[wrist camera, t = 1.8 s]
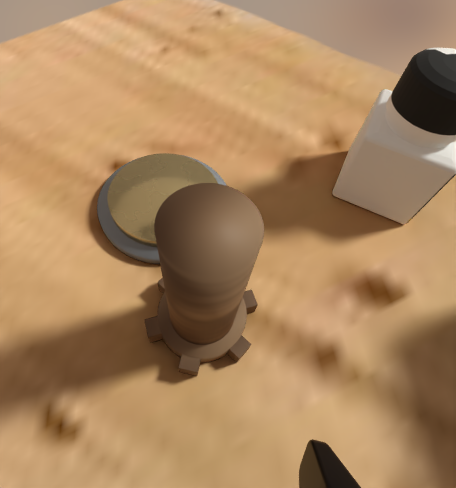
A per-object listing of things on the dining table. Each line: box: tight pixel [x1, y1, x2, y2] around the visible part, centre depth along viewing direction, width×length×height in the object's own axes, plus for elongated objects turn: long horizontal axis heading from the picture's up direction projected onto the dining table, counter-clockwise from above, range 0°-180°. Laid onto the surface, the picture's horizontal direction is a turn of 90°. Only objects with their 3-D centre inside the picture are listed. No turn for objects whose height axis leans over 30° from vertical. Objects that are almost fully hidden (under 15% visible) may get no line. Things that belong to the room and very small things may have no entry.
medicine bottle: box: [332, 48, 456, 224], centre depth 27 cm, size 7×7×12 cm
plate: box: [97, 155, 226, 264], centre depth 28 cm, size 11×11×1 cm
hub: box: [107, 154, 218, 247], centre depth 27 cm, size 9×9×1 cm
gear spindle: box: [145, 183, 264, 376], centre depth 18 cm, size 8×7×12 cm
